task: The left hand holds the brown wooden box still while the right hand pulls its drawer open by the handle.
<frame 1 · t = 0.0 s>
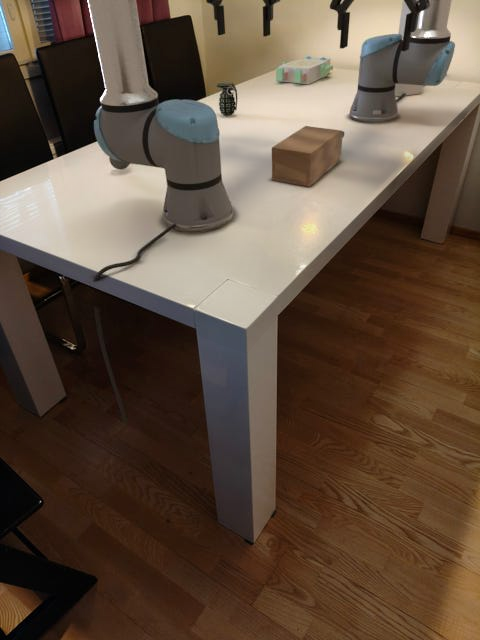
left hand: (243, 35, 129), 28 cm above the table, tool pointing down, fingers open, 13 cm apart
right hand: (373, 48, 105), 28 cm above the table, tool pointing down, fingers open, 13 cm apart
electronic device: (402, 93, 182), on the table
molecular model: (144, 155, 141), on the table
decorative block: (303, 78, 208), on the table
grenade: (228, 115, 169), on the table
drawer: (317, 147, 128), point 4 cm above the table, slide at 1.1 cm
brown wooden box: (306, 170, 126), on the table
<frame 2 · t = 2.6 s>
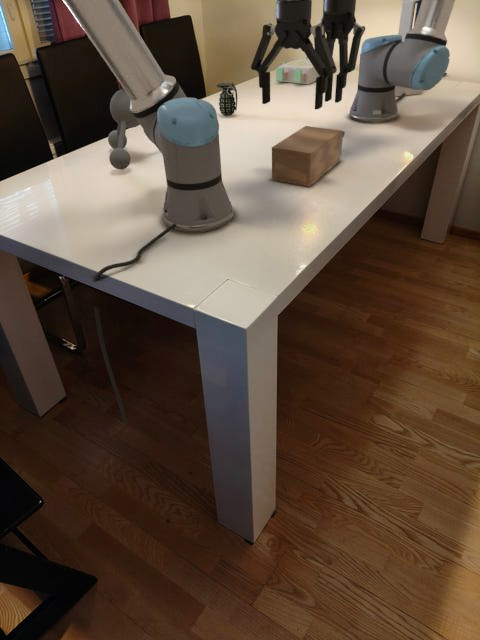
left hand: (291, 105, 115), 17 cm above the table, tool pointing down, fingers open, 13 cm apart
right hand: (333, 100, 127), 14 cm above the table, tool pointing down, fingers open, 2 cm apart
nothing on the table moved.
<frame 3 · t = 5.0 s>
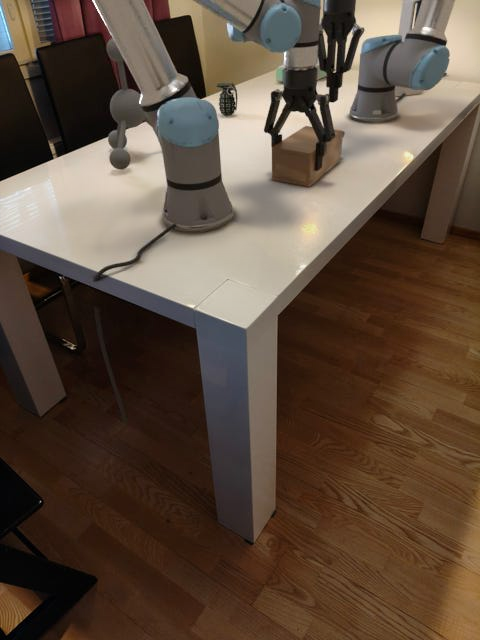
left hand: (297, 165, 121), 3 cm above the table, tool pointing down, fingers closed on brown wooden box, 10 cm apart
right hand: (333, 100, 127), 14 cm above the table, tool pointing down, fingers closed
brown wooden box: (306, 170, 126), on the table, touching left hand
everything else where it was.
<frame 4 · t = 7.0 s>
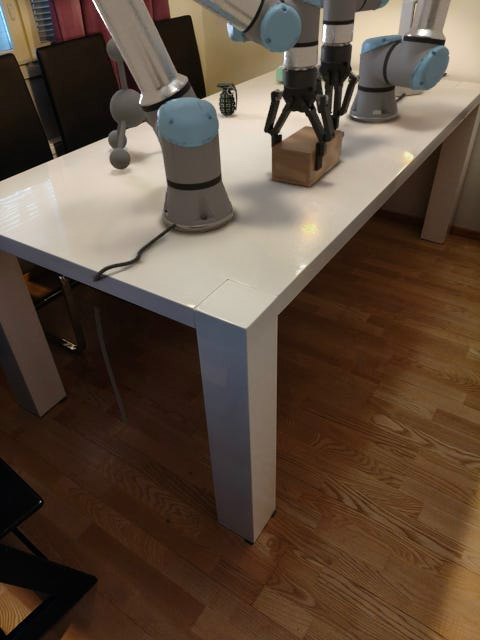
left hand: (297, 165, 121), 3 cm above the table, tool pointing down, fingers closed on brown wooden box, 10 cm apart
right hand: (330, 141, 134), 3 cm above the table, tool pointing down, fingers closed
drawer: (317, 147, 127), point 4 cm above the table, slide at 1.1 cm, touching right hand
brown wooden box: (306, 170, 126), on the table, touching left hand
everything else where it was.
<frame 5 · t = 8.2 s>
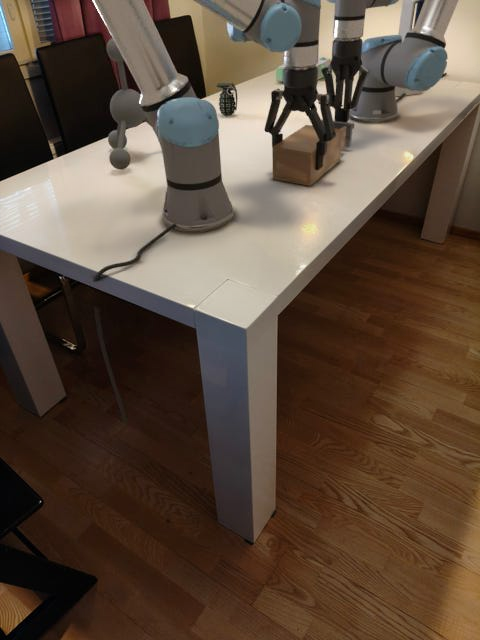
left hand: (298, 164, 121), 3 cm above the table, tool pointing down, fingers closed on brown wooden box, 10 cm apart
right hand: (340, 133, 138), 3 cm above the table, tool pointing down, fingers closed
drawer: (328, 138, 132), point 4 cm above the table, slide at 7.7 cm, touching right hand
brown wooden box: (307, 169, 126), on the table, touching left hand
everything else where it was.
when the left hand's fingers open (3 cm above the table, at t = 9.9 s): brown wooden box stays where it is, on the table.
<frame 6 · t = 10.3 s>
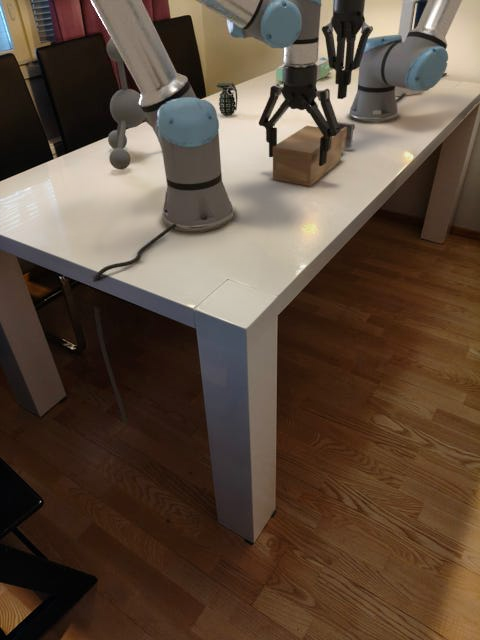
left hand: (297, 159, 120), 5 cm above the table, tool pointing down, fingers open, 13 cm apart
right hand: (341, 97, 132), 13 cm above the table, tool pointing down, fingers closed
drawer: (328, 139, 132), point 4 cm above the table, slide at 7.8 cm
brown wooden box: (307, 170, 126), on the table
everything else where it was.
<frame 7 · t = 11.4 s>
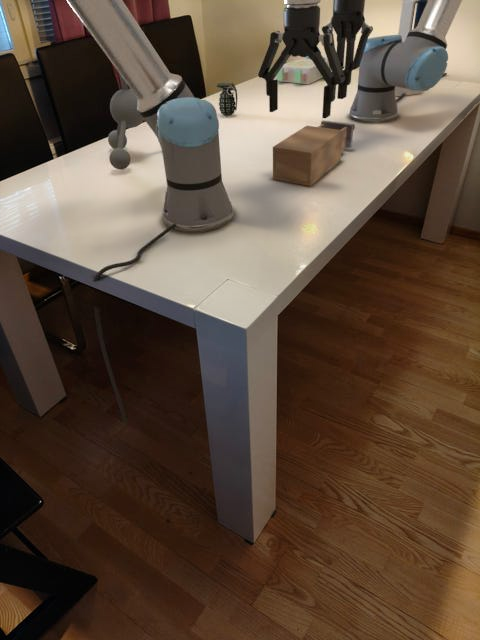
left hand: (299, 113, 113), 15 cm above the table, tool pointing down, fingers open, 13 cm apart
right hand: (341, 97, 132), 13 cm above the table, tool pointing down, fingers closed
nothing on the table moved.
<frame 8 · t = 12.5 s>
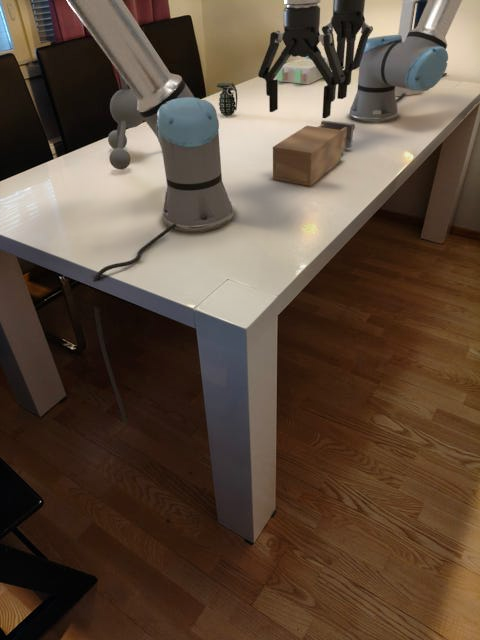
left hand: (299, 113, 113), 15 cm above the table, tool pointing down, fingers open, 13 cm apart
right hand: (341, 97, 132), 13 cm above the table, tool pointing down, fingers closed
nothing on the table moved.
at the end: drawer slide at 7.8 cm; brown wooden box tilted 0°; brown wooden box never tilted more than 3° during the clip; brown wooden box moved 0.4 cm from its start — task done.
